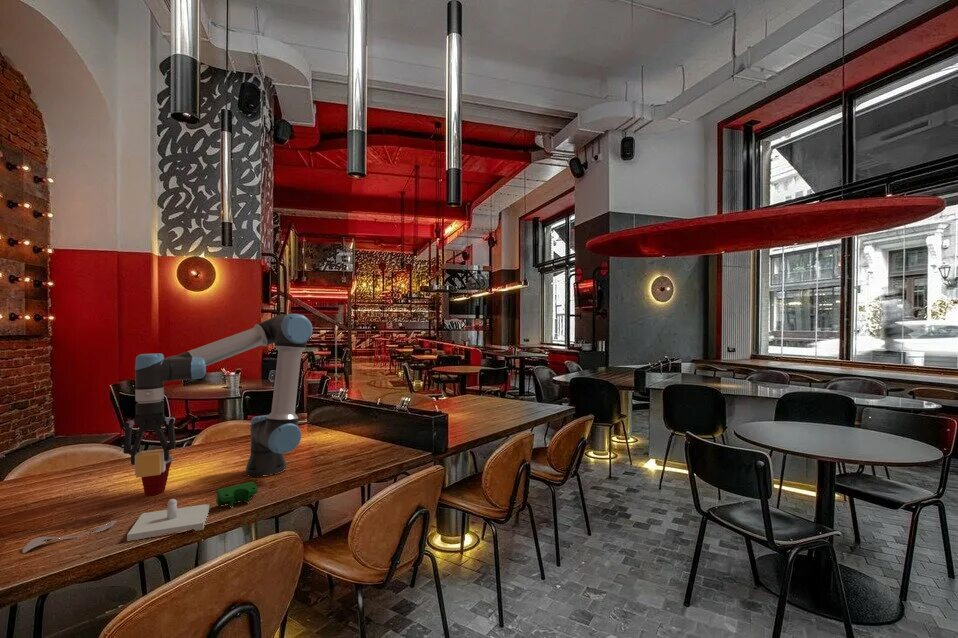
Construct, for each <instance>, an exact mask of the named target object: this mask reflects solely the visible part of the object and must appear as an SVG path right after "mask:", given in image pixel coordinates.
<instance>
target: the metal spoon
mask: <svg viewBox="0 0 958 638" xmlns="http://www.w3.org/2000/svg"><path fill="white" fill-rule="evenodd" d="M116 523H117V520H111V521H108V522H107V523H105V524H103V525H100V527H97V528H95V529H92V530H91V531H89V532H86V533H82V534H78V535H74V536H39V537H35V538H32V540H30V541H28V542H27V543H26V545H25V546H24V547H23V549H22V551H21V552H22V554H26V553H27V552H29V551H31V550H32V549H35V548H36V547H38V546H40V545H42V544H45V543H48V542H51V541H55V540H63V539H77V538H76V537H79V536H82V535H84V534H89V533H94V532H99V533H101V532H103V531H106V530H107V529H109V528H111V527H113V526H115V524H116ZM92 531H93V532H92ZM100 531H101V532H100ZM82 537H83V536H82ZM79 538H80V537H79Z"/></svg>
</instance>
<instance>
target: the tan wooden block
mask: <svg viewBox="0 0 958 638" xmlns="http://www.w3.org/2000/svg"><path fill="white" fill-rule="evenodd" d="M162 451H163V448H159V449H157V448H156V449H149V450H141V451H140V452H138V453H139V454H138V455H137V456H136V476H135V477H136V478H141V477H146V476H154V475H160V474H161V473H162V472H161V452H162Z"/></svg>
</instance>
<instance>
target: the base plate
mask: <svg viewBox="0 0 958 638" xmlns="http://www.w3.org/2000/svg"><path fill="white" fill-rule="evenodd" d="M166 506H167V507H166V509H162V510H157V511H150V512H142V513H141V515H140V516H139V517H138V519H137V520H136V522H135V523H134V524H133V526H132V527H131V529H130V530H129V531H128V533H127V534H126V538H127V539H126V542H127V541H130V540H135V539H142V538H146V537H151V536H156V535H161V534H165V533H171V532H178V531H185V530H191V529H194V530H195V531H194V532H197V531H202V530H204V528H205V526H204V524H205V525H206V523H205V521H206V522H207V520H206V518H207V519H208V517H209V514H210V512H209V510H210V511H211V503H205V504H198V505H197V504H196V505H191V506H184V507H183V506H182V507H178V500H176V499H175V498H171V499H169V500H168V502H167V505H166ZM208 513H209V514H208ZM207 516H208V517H207Z"/></svg>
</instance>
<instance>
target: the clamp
mask: <svg viewBox="0 0 958 638" xmlns="http://www.w3.org/2000/svg"><path fill="white" fill-rule="evenodd" d="M258 492H259V487H258V486H257V484H256V483H255V482H254V481H253V480H252V481H248V482H244V483H239V484H235V485H231V486H227V487H221V488H217V489H216V498H215V502H216V504H217V506H218V507H219V506H221V505H225V504H228V505H227V506H229V505H230V506H231V507H232V506H233V507H234V504H233V503H235V502H238V501H247V502H249V503H251V502H250V501H251V499H250V498H251V497H253V498H254V496H255V495H256V494H258ZM235 504H236V503H235Z"/></svg>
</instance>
